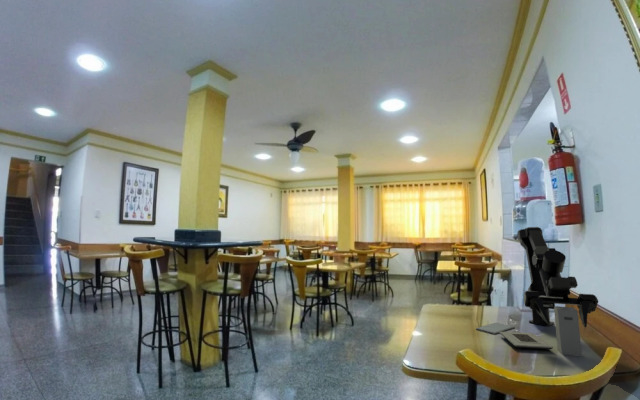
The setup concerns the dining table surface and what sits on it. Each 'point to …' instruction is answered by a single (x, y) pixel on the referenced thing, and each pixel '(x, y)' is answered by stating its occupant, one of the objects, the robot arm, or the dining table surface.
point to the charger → (567, 331)
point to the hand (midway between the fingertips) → (566, 324)
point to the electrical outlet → (526, 340)
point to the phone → (495, 328)
